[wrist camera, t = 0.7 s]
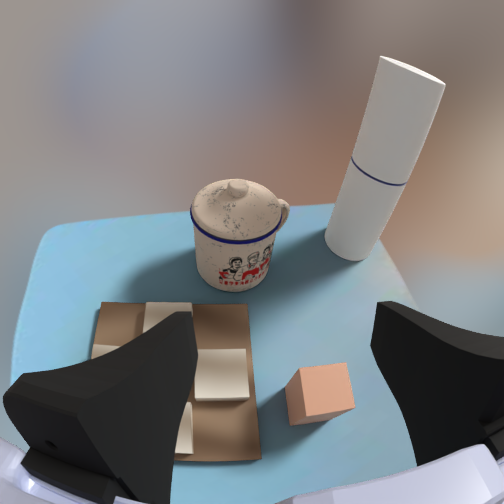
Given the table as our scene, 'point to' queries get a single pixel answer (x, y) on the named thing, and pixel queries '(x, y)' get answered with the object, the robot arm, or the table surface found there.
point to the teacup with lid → (235, 232)
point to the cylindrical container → (382, 156)
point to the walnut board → (210, 334)
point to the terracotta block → (319, 394)
